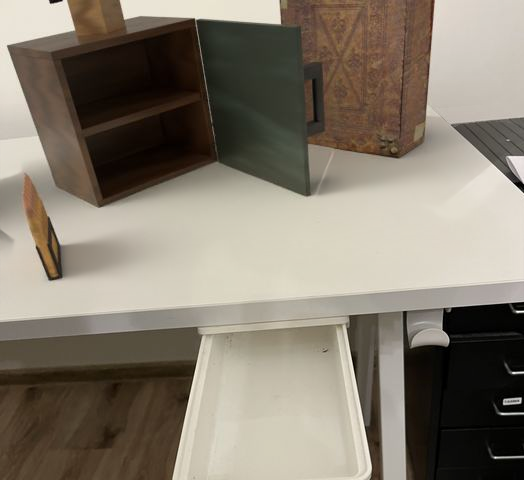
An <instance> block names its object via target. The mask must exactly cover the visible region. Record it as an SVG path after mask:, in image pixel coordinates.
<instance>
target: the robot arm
mask: <svg viewBox="0 0 524 480" xmlns="http://www.w3.org/2000/svg"><path fill="white" fill-rule="evenodd" d="M48 1H49V5H52V4H53V5H54V4H57V3H61V2H64V0H48Z"/></svg>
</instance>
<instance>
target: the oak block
mask: <svg viewBox="0 0 524 480" xmlns="http://www.w3.org/2000/svg"><path fill="white" fill-rule="evenodd" d="M66 2H67V6H68V9H69V13H70V16H71V20H72V24H73V28H74V30H75V31H76V35H77V36H85V35H98V34H108V33H111V32H114V31H116V30H119V29H122V28H124V27H126V25H125V21H124V20H125V17H124V11H123V7H122V3H121V0H66Z"/></svg>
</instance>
